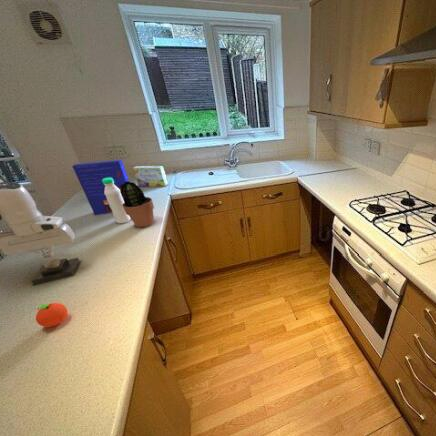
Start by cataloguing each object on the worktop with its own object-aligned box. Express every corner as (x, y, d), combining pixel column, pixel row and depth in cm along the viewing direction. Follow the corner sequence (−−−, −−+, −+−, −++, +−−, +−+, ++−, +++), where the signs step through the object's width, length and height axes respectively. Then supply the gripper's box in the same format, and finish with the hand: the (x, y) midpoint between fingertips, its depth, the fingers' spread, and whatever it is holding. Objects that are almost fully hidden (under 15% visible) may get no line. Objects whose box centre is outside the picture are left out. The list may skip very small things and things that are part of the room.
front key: (46, 269, 93) (44, 266, 92) (50, 264, 96) (48, 260, 95) (58, 266, 94) (56, 263, 94) (61, 261, 97) (59, 258, 96)
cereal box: (137, 205, 154) (121, 158, 140) (136, 208, 149) (118, 161, 135) (98, 211, 148) (76, 163, 134) (94, 215, 143) (72, 165, 129)
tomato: (33, 329, 73) (20, 313, 70) (57, 311, 79) (46, 295, 76) (55, 333, 72) (42, 317, 69) (77, 314, 78) (66, 298, 75)
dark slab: (33, 285, 91) (28, 277, 89) (44, 269, 99) (39, 261, 97) (73, 275, 95) (68, 267, 93) (80, 261, 103) (76, 254, 101)
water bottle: (117, 225, 131) (99, 181, 119) (115, 220, 136) (98, 178, 124) (132, 221, 135) (115, 178, 123) (130, 216, 140) (114, 175, 128)
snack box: (138, 186, 185) (131, 167, 178) (142, 184, 190) (136, 165, 183) (165, 186, 184) (159, 167, 177) (168, 184, 189) (163, 165, 182)
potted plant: (163, 221, 134) (150, 178, 122) (139, 232, 124) (121, 187, 112) (150, 215, 140) (136, 174, 129) (126, 225, 130) (108, 182, 119)
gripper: (-15, 237, 80) (9, 269, 87) (61, 223, 88) (78, 253, 94) (-5, 228, 85) (17, 259, 92) (67, 216, 93) (82, 245, 99)
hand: (49, 256), depth 93 cm, fingers closed
